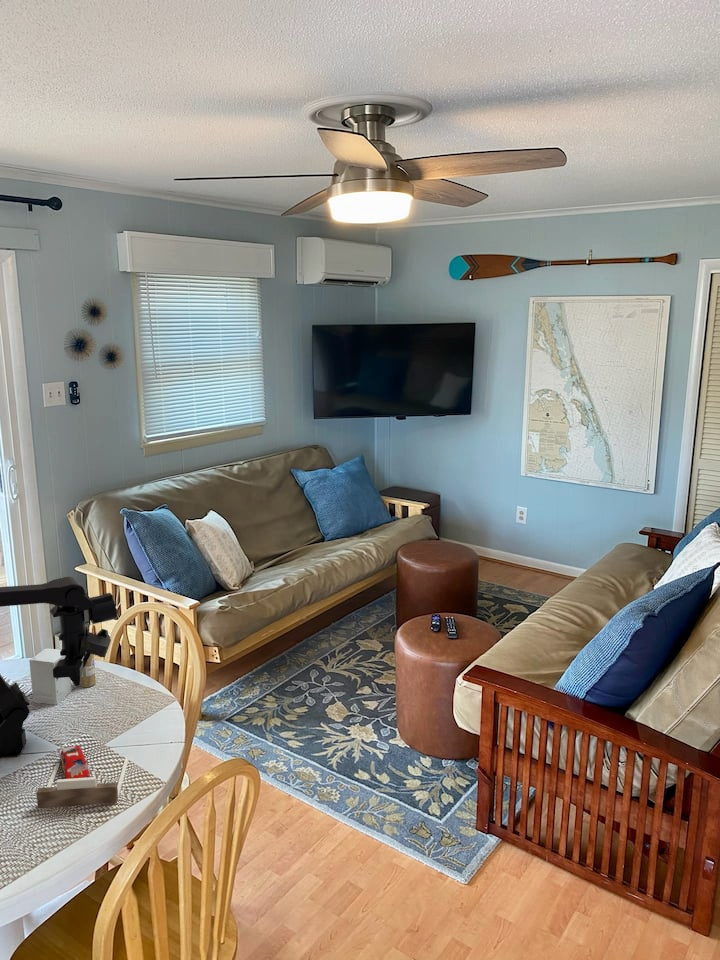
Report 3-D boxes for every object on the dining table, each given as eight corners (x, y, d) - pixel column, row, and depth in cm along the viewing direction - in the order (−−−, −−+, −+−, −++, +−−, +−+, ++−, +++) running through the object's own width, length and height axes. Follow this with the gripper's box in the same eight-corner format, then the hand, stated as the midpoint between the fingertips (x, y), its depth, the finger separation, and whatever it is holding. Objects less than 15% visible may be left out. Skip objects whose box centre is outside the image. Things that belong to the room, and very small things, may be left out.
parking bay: (37, 808, 156) (35, 784, 155) (56, 764, 171) (54, 741, 170) (116, 802, 159) (115, 778, 157) (128, 759, 173) (127, 737, 172)
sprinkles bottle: (95, 687, 205) (92, 643, 202) (78, 688, 204) (74, 645, 201) (97, 679, 209) (94, 636, 206) (80, 680, 208) (77, 637, 205)
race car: (91, 784, 165) (90, 769, 164) (66, 792, 162) (64, 776, 161) (83, 752, 176) (82, 738, 175) (59, 759, 173) (57, 744, 172)
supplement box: (56, 705, 195) (53, 662, 192) (32, 702, 197) (28, 659, 194) (72, 691, 202) (69, 650, 199) (48, 688, 204) (45, 647, 201)
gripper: (99, 644, 171) (103, 703, 175) (113, 611, 189) (117, 665, 193) (49, 646, 170) (55, 705, 174) (69, 612, 188) (73, 667, 191)
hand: (77, 685), depth 183 cm, fingers closed
